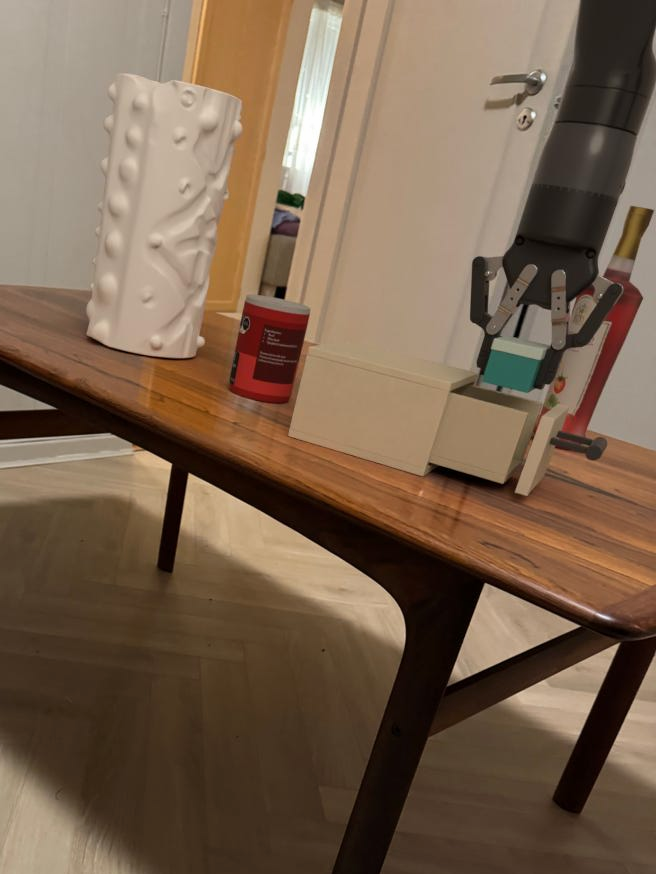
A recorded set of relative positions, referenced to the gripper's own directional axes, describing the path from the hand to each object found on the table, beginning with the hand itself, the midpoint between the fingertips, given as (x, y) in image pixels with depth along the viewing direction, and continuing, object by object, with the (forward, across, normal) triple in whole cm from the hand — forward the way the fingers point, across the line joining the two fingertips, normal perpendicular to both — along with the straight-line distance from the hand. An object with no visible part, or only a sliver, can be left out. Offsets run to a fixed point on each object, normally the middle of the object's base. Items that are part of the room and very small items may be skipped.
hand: (511, 380), depth 88 cm
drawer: (+9, +1, 0) cm, 9 cm away
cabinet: (+10, -12, 0) cm, 15 cm away
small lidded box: (0, 0, 0) cm, 0 cm away
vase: (+10, -53, +20) cm, 57 cm away
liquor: (+10, +3, +32) cm, 34 cm away
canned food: (+10, -30, +10) cm, 33 cm away
